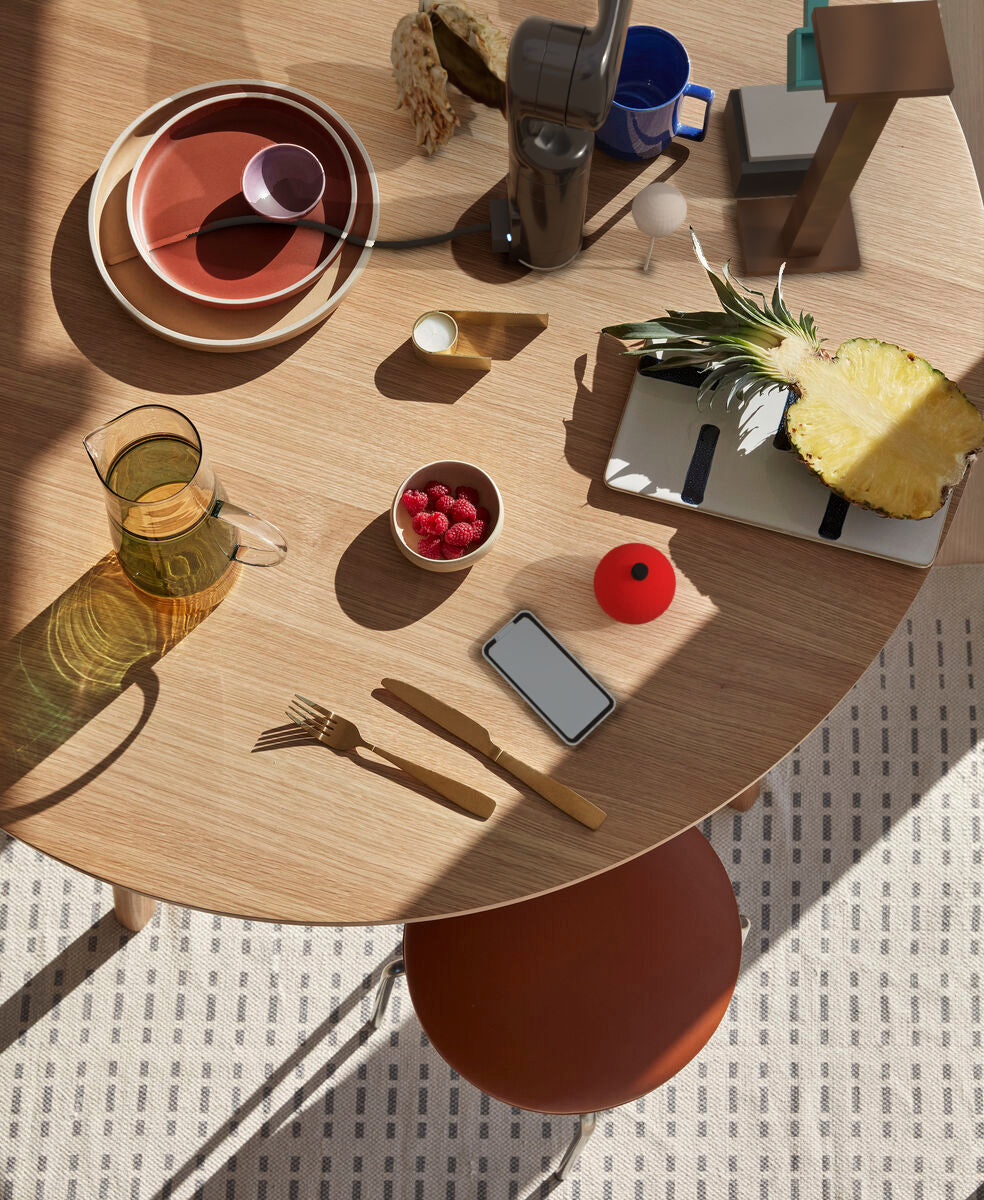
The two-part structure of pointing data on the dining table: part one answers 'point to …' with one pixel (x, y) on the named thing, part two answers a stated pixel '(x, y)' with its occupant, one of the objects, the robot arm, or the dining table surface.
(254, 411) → the dining table surface
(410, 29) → the seashell
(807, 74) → the scoop
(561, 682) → the smartphone
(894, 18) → the wooden pedestal stand
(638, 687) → the dining table surface
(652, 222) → the lollipop
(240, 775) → the dining table surface
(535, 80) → the robot arm
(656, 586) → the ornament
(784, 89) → the scale
